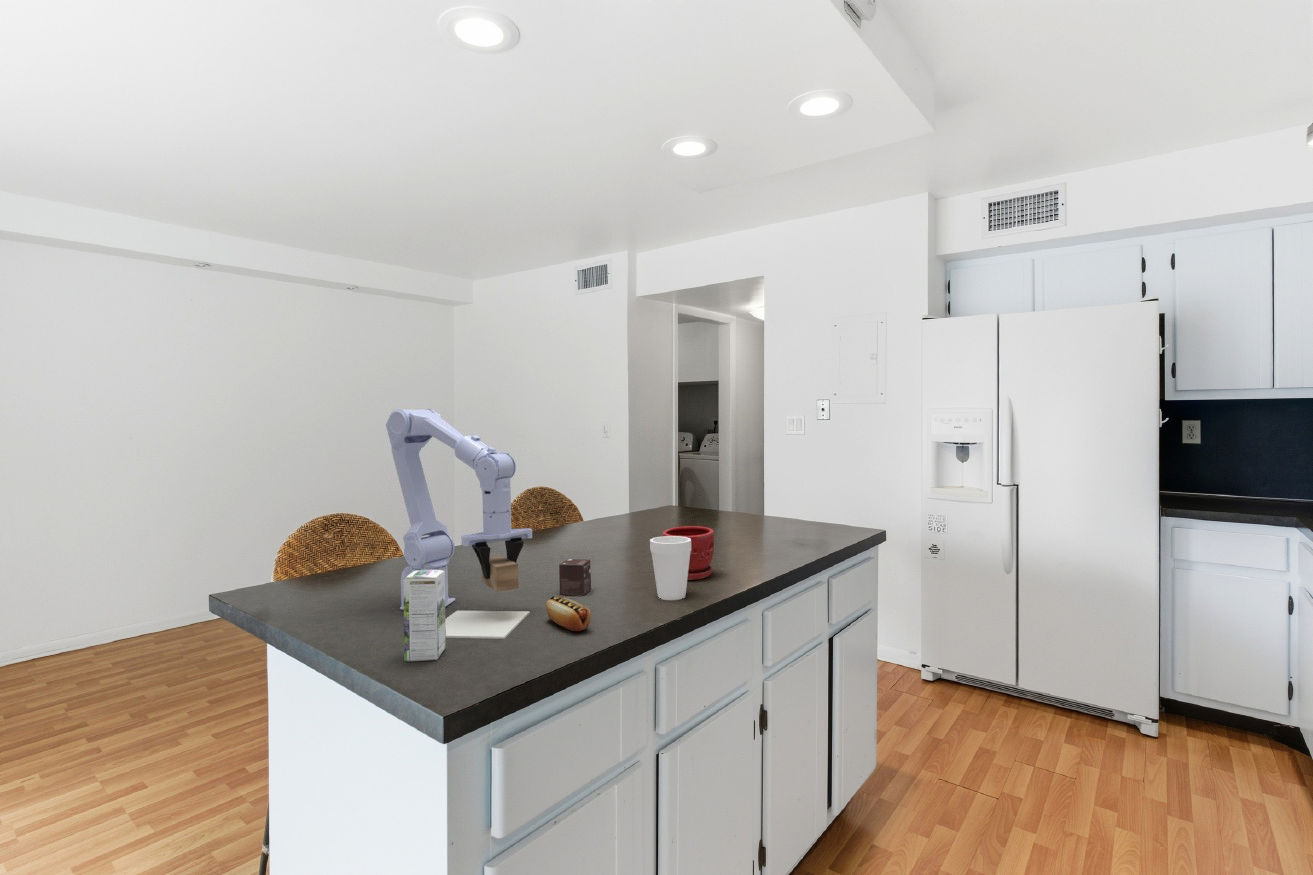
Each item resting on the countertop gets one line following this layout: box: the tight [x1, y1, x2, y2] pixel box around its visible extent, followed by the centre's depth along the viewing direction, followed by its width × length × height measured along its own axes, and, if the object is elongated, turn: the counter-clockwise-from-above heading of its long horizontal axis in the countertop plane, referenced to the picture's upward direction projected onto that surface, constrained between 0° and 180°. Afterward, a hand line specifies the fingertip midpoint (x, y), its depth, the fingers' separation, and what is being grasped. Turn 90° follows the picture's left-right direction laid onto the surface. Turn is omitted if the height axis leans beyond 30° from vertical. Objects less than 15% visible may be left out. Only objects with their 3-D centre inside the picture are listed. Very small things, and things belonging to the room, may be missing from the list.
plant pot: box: [662, 525, 715, 581], centre depth 167 cm, size 13×13×12 cm
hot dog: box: [545, 595, 592, 632], centre depth 129 cm, size 5×13×5 cm, turn 36°
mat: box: [445, 610, 531, 640], centre depth 131 cm, size 16×16×1 cm
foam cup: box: [649, 536, 691, 601], centre depth 149 cm, size 10×9×13 cm
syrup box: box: [403, 570, 447, 662], centre depth 114 cm, size 6×6×14 cm
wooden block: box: [480, 555, 519, 593], centre depth 136 cm, size 10×4×5 cm, turn 32°
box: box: [558, 558, 592, 597], centre depth 154 cm, size 6×6×7 cm
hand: (498, 576), depth 136 cm, fingers closed on wooden block, 4 cm apart
